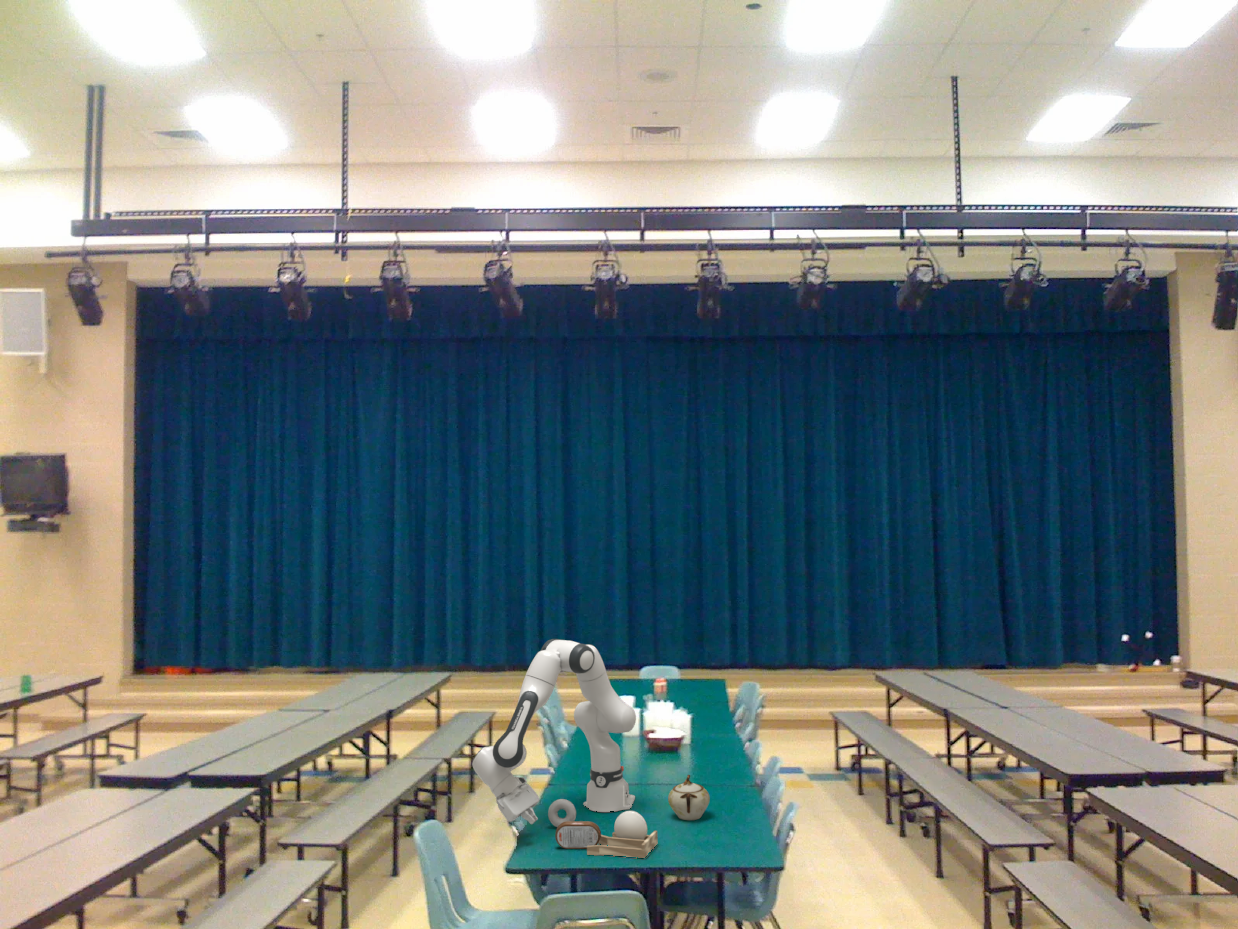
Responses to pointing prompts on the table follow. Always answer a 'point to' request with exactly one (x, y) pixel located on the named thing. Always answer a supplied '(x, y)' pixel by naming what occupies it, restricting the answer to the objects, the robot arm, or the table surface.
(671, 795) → the sugar bowl
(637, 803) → the table surface
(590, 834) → the tin
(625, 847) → the rack
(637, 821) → the racked plate
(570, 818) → the donut
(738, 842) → the table surface
